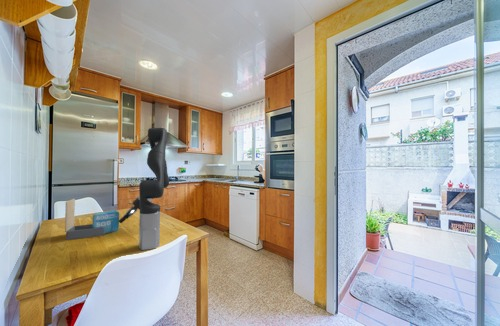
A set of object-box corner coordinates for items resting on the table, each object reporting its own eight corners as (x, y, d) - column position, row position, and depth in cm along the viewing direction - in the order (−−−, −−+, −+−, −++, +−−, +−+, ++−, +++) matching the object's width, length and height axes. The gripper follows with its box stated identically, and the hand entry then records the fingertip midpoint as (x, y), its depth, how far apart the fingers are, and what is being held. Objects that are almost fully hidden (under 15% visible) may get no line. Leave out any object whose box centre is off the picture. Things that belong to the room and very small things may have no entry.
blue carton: (93, 236, 105) (94, 215, 105) (92, 234, 108) (92, 213, 108) (118, 230, 114) (119, 211, 114) (116, 228, 117) (117, 209, 117)
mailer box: (103, 235, 106) (104, 199, 107) (64, 240, 99) (65, 201, 99) (108, 229, 115) (108, 196, 116) (72, 233, 108) (73, 198, 108)
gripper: (139, 195, 124) (117, 215, 119) (136, 198, 112) (112, 221, 107) (148, 202, 127) (126, 222, 121) (146, 206, 115) (122, 229, 109)
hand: (119, 222), depth 114 cm, fingers closed
